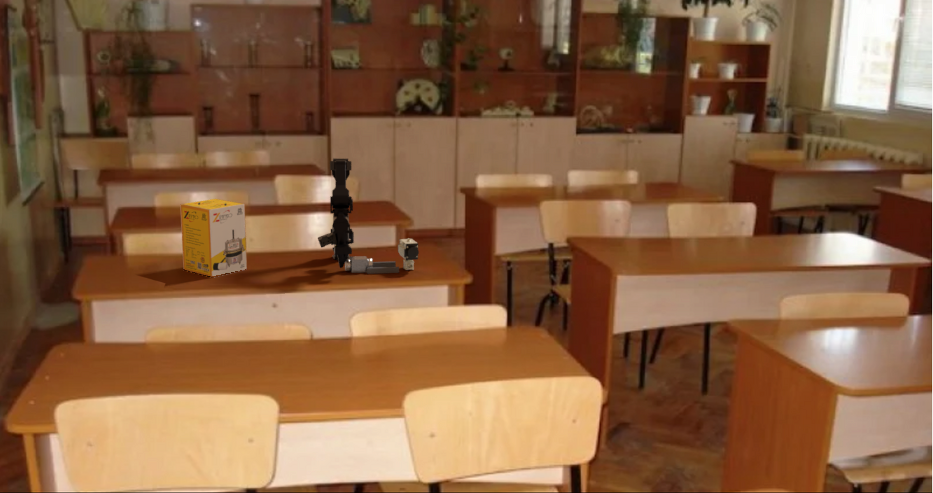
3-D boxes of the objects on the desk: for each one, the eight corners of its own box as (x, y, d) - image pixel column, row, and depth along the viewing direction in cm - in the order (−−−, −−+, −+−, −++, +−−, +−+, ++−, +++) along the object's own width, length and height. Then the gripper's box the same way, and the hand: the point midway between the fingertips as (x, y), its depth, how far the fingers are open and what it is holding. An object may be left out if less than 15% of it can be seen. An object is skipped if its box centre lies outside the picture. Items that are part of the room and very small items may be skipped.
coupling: (345, 269, 339) (344, 256, 338) (371, 268, 341) (371, 255, 340) (346, 273, 334) (346, 260, 333) (373, 272, 336) (373, 259, 335)
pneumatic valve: (409, 264, 348) (410, 234, 345) (418, 272, 337) (419, 241, 335) (396, 265, 346) (396, 235, 344) (404, 273, 336) (405, 242, 333)
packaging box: (218, 262, 345) (216, 198, 339) (246, 269, 336) (244, 203, 330) (183, 270, 332) (180, 204, 327) (211, 278, 323) (208, 209, 317)
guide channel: (364, 267, 343) (364, 262, 342) (395, 266, 345) (395, 261, 345) (367, 273, 334) (367, 268, 333) (399, 272, 336) (399, 267, 336)
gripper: (317, 222, 339) (317, 262, 343) (320, 232, 322) (321, 274, 325) (346, 221, 342) (346, 261, 345) (351, 231, 324) (352, 273, 328)
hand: (341, 267), depth 336 cm, fingers closed, pressing on coupling
